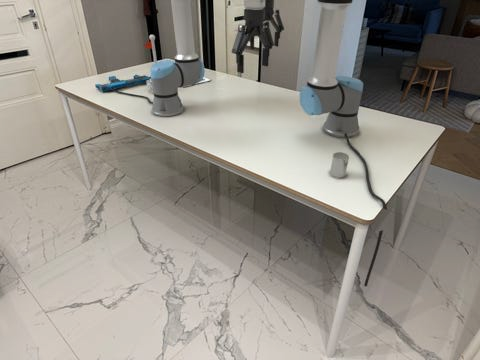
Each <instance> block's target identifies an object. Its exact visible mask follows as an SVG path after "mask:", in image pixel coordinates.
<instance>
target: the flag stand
mask: <svg viewBox="0 0 480 360" xmlns="http://www.w3.org/2000/svg"><path fill="white" fill-rule="evenodd" d="M155 40H156V36H155V35H154V34H150V35H149V41H148V42H146V43H145V44H143V47H145V48H147V49H151V50H152V56H153V64H155V63H157V62H158V59H157V51H156V45H155ZM146 87H147V88H149V92H150V93H151V94H154V93H153V87H152V80H151V79H150V80H147V81H146Z"/></svg>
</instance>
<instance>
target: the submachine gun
mask: <svg viewBox="0 0 480 360" xmlns="http://www.w3.org/2000/svg"><path fill="white" fill-rule="evenodd" d="M150 79H151V76H148V75H146V74H145V75H144V74H143V75H139V74H134V75H133V78H129V79H122V80H120V79H119V78H117V76H115V75H112V76H108V80H109V81H110V82H109V83H104V84H100V83H96V84H94V85H95V89H97V90H99V92H107V91H113V92H115V91H114V89H115V90H117V89H120V88H121V89H122V88H126V87H129V86H130V87H131V86H134V85H140V84H147V82H146V81H147V80H149V81H150Z"/></svg>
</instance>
